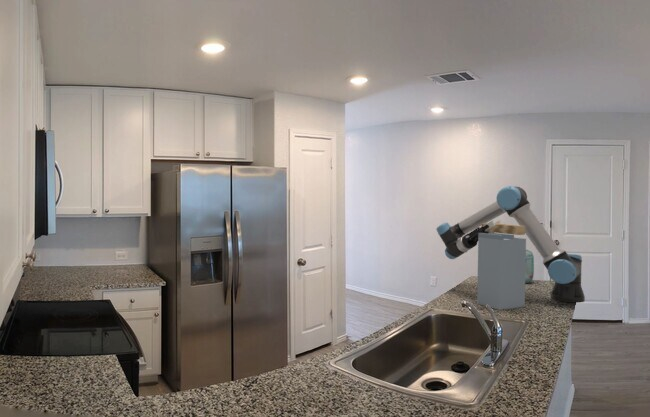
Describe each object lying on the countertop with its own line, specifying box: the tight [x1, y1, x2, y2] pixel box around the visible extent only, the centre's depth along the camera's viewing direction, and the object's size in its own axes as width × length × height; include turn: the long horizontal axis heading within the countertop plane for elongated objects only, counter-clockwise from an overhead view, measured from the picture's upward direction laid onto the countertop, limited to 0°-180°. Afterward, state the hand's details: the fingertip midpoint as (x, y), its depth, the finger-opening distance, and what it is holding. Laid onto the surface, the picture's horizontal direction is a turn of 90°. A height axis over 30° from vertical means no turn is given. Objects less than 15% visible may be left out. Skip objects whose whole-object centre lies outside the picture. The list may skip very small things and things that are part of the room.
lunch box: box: [525, 248, 535, 284], centre depth 284 cm, size 27×10×21 cm, turn 67°
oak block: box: [481, 222, 526, 236], centre depth 227 cm, size 23×4×4 cm, turn 26°
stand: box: [476, 233, 527, 311], centre depth 223 cm, size 14×16×34 cm
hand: (497, 222), depth 230 cm, fingers closed on oak block, 4 cm apart
